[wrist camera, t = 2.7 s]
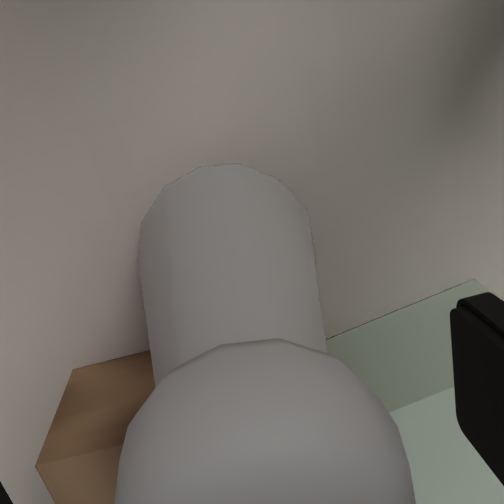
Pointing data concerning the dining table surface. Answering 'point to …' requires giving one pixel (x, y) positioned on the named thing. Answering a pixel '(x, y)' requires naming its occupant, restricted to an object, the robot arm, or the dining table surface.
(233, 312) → the salt shaker
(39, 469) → the walnut block
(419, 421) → the sage block
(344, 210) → the dining table surface
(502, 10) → the dining table surface
